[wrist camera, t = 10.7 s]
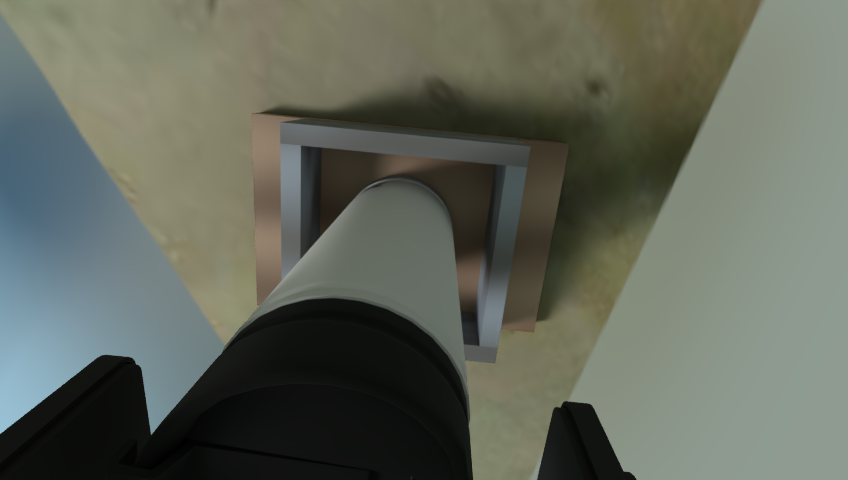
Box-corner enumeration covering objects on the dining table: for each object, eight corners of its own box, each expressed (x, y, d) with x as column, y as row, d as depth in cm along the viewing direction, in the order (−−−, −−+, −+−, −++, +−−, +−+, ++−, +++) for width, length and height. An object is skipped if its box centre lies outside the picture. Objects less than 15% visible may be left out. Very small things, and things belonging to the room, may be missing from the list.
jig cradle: (259, 112, 26) (217, 116, 21) (564, 142, 26) (593, 152, 21) (264, 297, 30) (229, 337, 25) (530, 323, 30) (548, 368, 25)
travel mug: (351, 162, 25) (87, 346, 6) (462, 187, 26) (528, 435, 7) (335, 261, 27) (95, 631, 8) (439, 283, 28) (437, 694, 8)
